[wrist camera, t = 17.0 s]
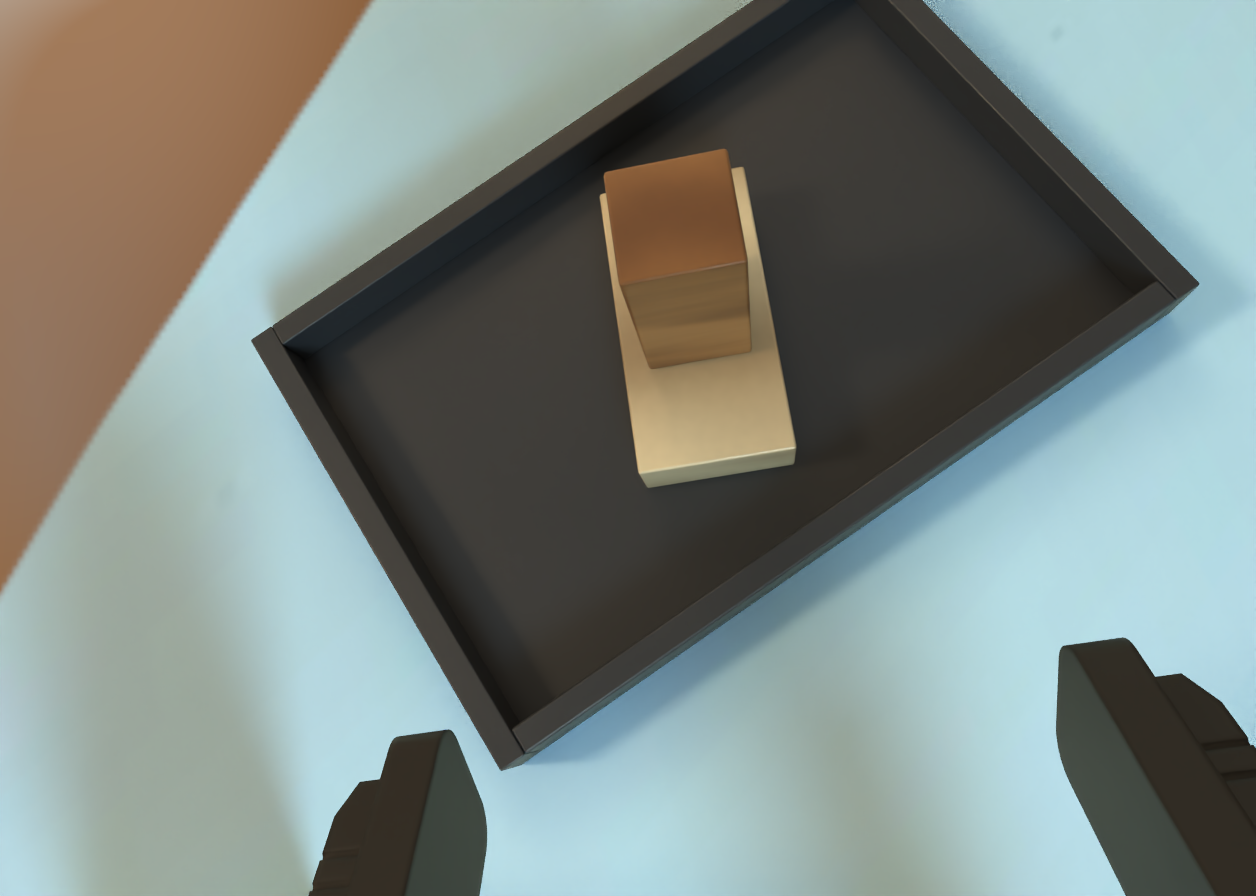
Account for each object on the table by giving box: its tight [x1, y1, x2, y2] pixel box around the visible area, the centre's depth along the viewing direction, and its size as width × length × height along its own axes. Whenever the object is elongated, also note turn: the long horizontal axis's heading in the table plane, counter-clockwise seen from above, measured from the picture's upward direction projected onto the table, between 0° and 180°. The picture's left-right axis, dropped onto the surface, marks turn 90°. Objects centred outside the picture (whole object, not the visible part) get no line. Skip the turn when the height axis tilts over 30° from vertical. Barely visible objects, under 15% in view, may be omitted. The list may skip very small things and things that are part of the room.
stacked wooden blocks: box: [600, 149, 796, 488], centre depth 26 cm, size 9×4×8 cm, turn 8°
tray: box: [251, 0, 1199, 771], centre depth 29 cm, size 24×16×2 cm, turn 124°
